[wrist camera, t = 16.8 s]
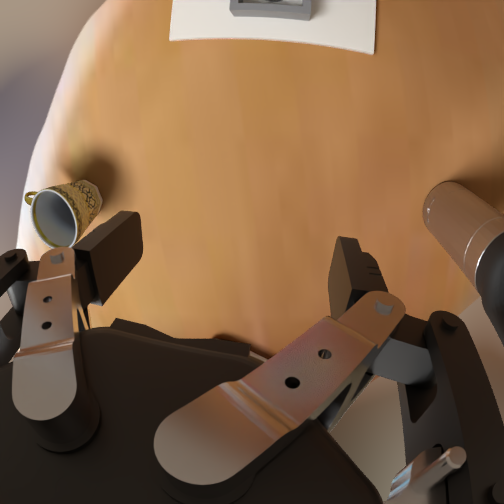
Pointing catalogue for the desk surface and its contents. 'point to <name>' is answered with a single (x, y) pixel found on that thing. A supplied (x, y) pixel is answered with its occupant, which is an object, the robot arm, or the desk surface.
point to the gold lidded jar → (273, 0)
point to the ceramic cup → (64, 212)
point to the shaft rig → (278, 21)
